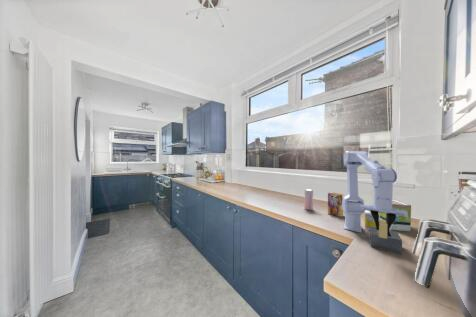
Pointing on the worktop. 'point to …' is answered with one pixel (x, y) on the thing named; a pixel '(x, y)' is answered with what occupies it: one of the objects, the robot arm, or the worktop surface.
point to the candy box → (335, 204)
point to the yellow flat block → (382, 228)
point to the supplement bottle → (369, 220)
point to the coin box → (386, 241)
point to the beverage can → (308, 199)
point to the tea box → (400, 221)
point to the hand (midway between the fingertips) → (382, 230)
